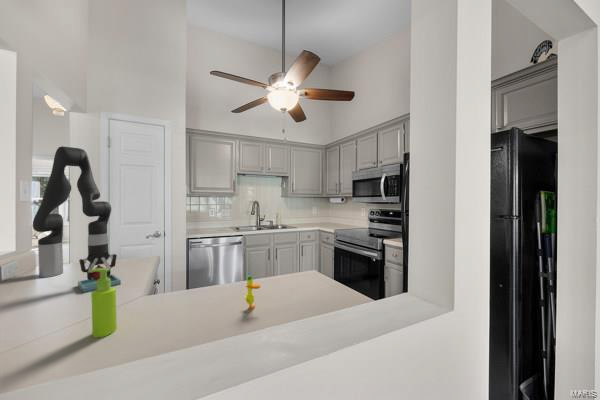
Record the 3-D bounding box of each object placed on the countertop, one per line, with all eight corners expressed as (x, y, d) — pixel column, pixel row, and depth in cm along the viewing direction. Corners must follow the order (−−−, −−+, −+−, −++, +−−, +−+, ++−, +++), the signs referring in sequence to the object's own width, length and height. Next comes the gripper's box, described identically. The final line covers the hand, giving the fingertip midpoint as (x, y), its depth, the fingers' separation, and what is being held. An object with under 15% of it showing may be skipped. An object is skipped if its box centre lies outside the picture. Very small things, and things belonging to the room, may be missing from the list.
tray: (77, 286, 117) (77, 281, 117) (113, 278, 127) (112, 274, 127) (83, 293, 108) (83, 288, 108) (120, 284, 118) (120, 279, 118)
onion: (110, 279, 120) (109, 263, 120) (99, 283, 114) (99, 266, 114) (99, 279, 121) (98, 263, 120) (88, 283, 115) (87, 266, 115)
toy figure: (262, 306, 93) (261, 275, 93) (258, 310, 90) (258, 278, 89) (245, 304, 95) (245, 274, 94) (241, 309, 91) (241, 277, 91)
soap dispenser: (98, 328, 79) (96, 266, 79) (120, 326, 80) (119, 265, 79) (83, 338, 73) (81, 272, 73) (108, 337, 74) (106, 271, 73)
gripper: (114, 240, 125) (115, 272, 125) (76, 244, 114) (77, 280, 114) (118, 241, 120) (119, 276, 121) (79, 246, 109) (80, 284, 110)
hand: (99, 278), depth 117 cm, fingers closed on onion, 6 cm apart
